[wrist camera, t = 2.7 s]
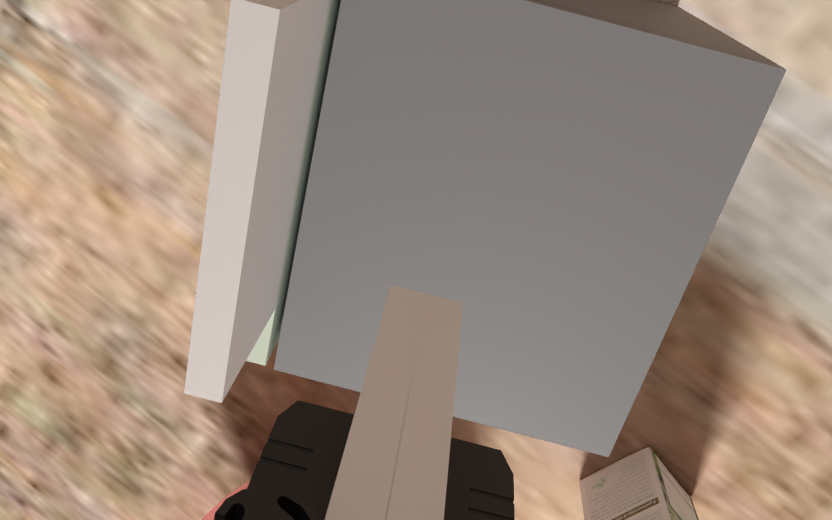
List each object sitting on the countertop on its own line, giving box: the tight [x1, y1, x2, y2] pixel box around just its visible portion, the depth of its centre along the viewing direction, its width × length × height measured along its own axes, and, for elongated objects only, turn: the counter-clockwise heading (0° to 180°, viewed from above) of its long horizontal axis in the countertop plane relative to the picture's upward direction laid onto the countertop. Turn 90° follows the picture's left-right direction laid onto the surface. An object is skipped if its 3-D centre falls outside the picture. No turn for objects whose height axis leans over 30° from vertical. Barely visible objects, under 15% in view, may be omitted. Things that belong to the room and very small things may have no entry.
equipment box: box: [274, 0, 786, 457], centre depth 34 cm, size 14×16×16 cm
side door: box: [184, 0, 341, 403], centre depth 31 cm, size 1×16×22 cm, turn 166°
